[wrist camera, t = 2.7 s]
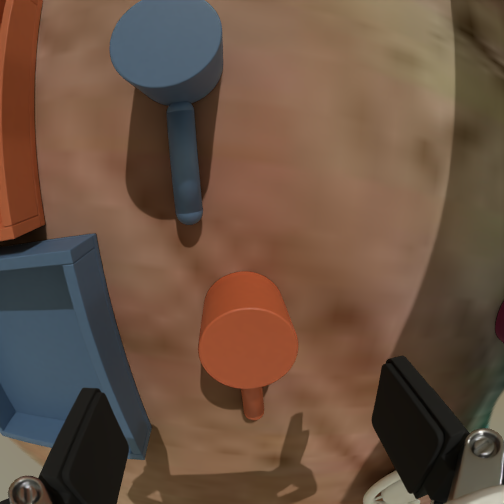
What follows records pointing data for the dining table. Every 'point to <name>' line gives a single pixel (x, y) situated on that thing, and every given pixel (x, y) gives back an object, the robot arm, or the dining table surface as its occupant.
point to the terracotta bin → (18, 119)
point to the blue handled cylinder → (173, 77)
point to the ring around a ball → (389, 491)
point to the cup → (500, 323)
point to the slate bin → (61, 342)
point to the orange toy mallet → (246, 336)
